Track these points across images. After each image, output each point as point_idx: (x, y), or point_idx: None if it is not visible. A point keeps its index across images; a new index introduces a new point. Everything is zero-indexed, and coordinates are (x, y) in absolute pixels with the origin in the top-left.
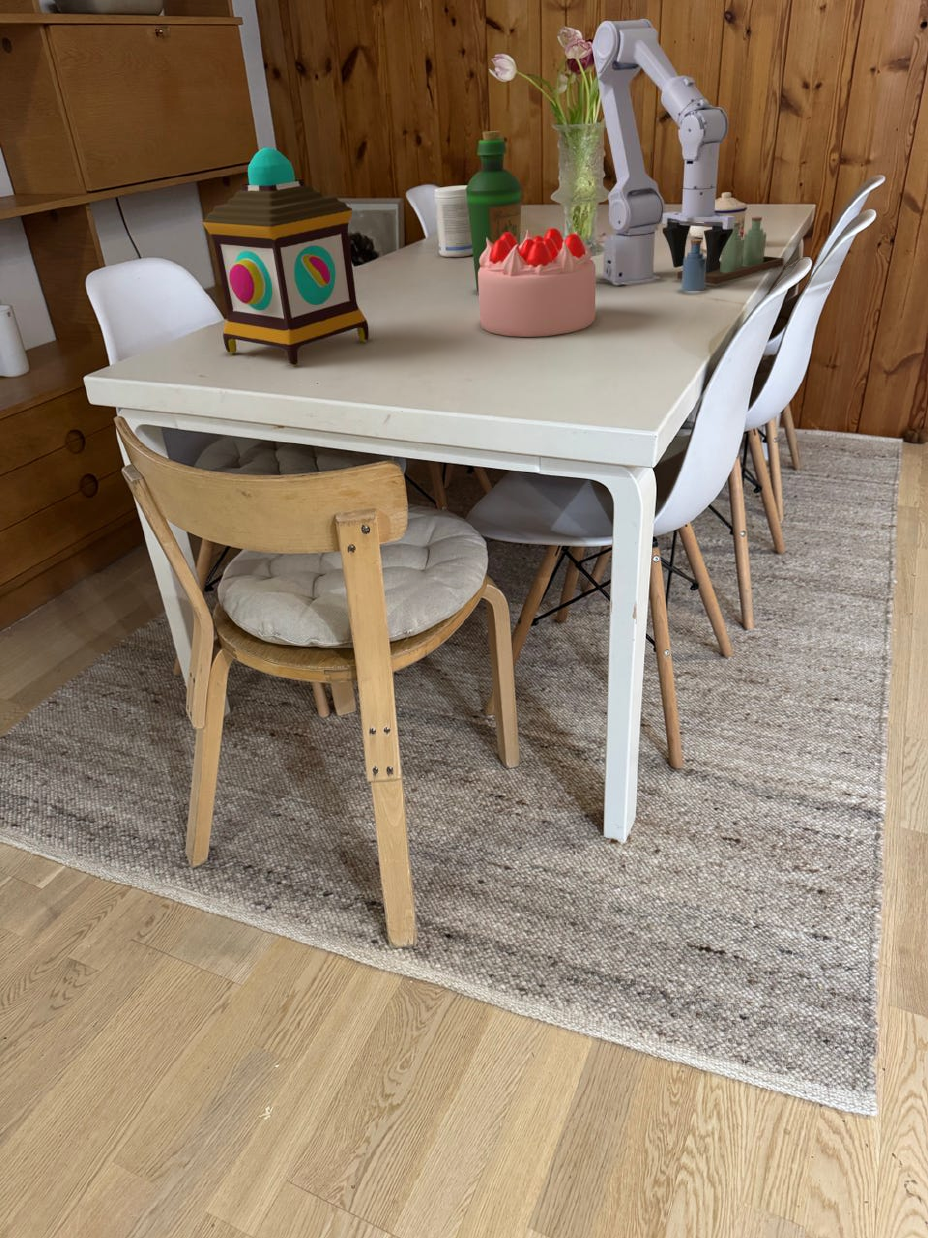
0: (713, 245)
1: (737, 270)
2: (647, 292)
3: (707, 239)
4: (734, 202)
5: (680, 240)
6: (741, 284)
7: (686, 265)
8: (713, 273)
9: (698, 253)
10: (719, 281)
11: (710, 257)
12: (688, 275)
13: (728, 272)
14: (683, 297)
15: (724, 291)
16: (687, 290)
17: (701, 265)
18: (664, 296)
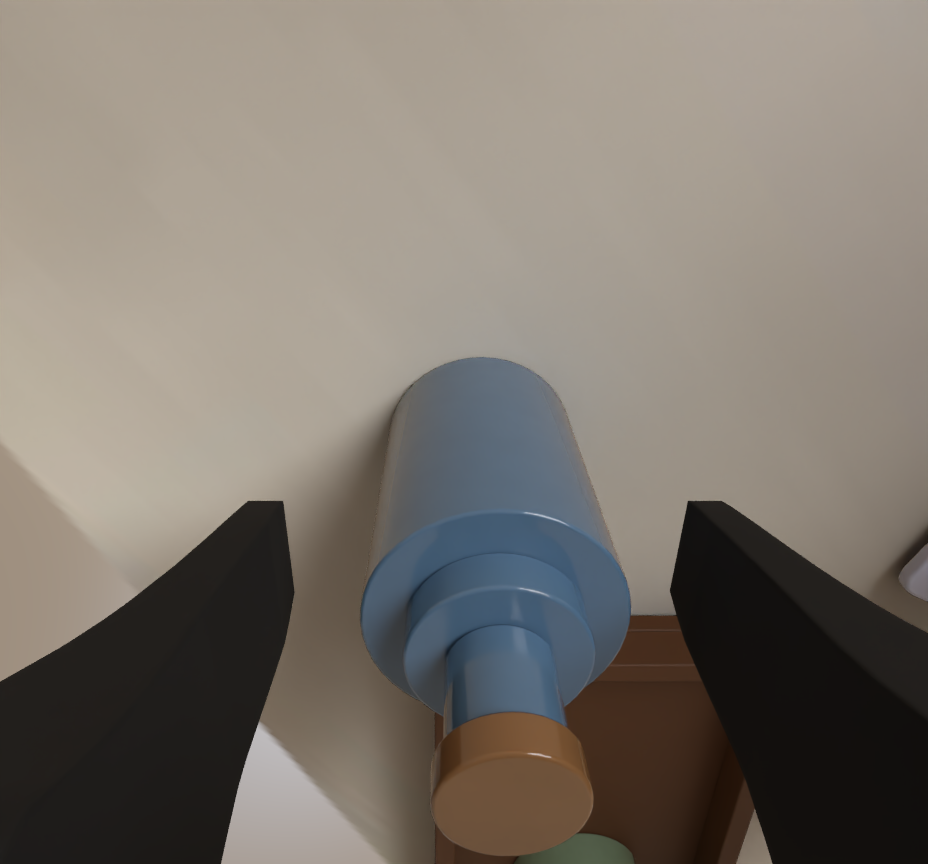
0: (11, 677)
1: (447, 838)
2: (812, 218)
3: (56, 727)
4: None
5: (807, 779)
6: (349, 728)
7: (509, 470)
8: (632, 805)
9: (440, 651)
10: None
11: (166, 573)
12: (468, 422)
13: None
14: (407, 236)
15: (293, 553)
16: (466, 367)
17: (371, 548)
18: (580, 172)
